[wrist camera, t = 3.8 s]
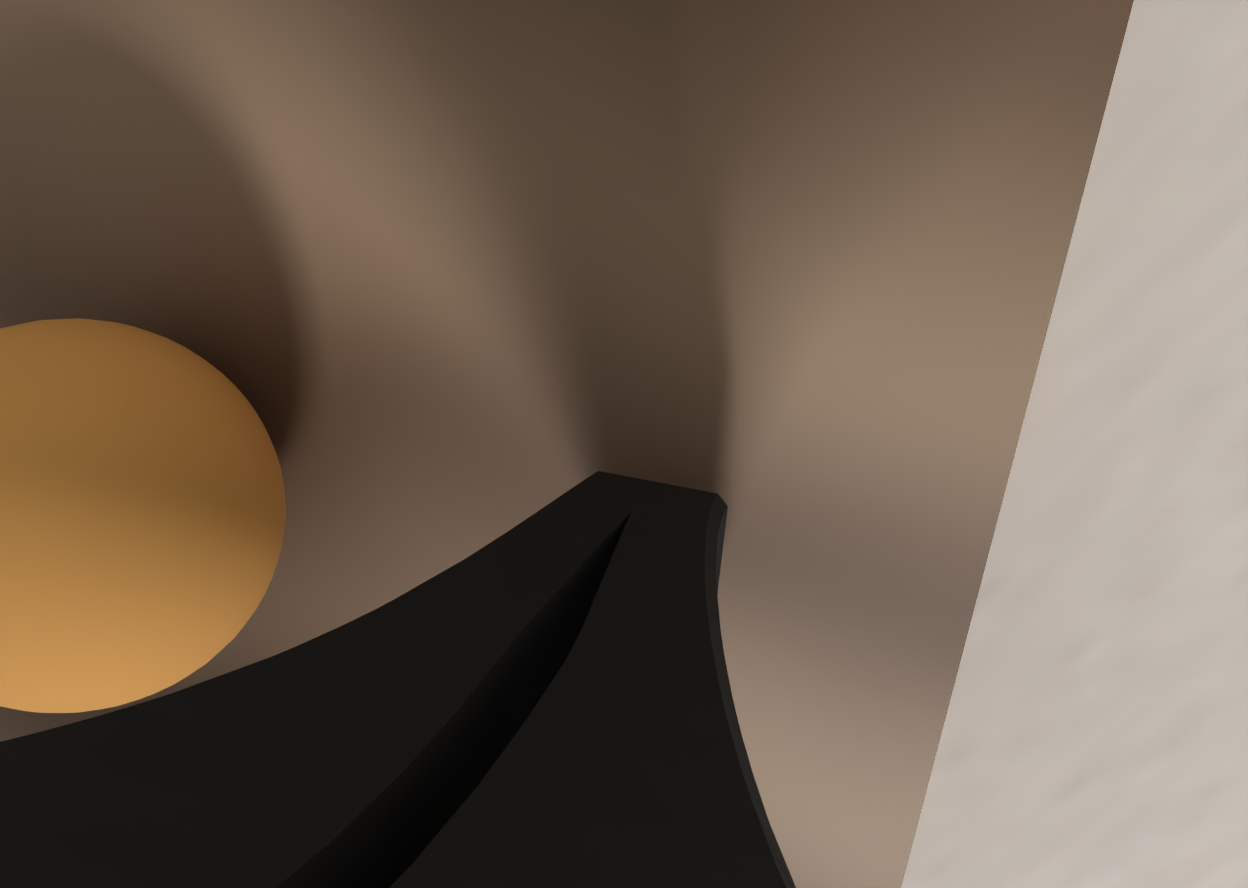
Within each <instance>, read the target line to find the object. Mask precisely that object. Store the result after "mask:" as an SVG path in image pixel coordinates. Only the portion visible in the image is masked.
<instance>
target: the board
mask: <svg viewBox="0 0 1248 888" xmlns="http://www.w3.org/2000/svg"><path fill="white" fill-rule="evenodd" d="M1133 1H1134V0H0V328H5V327H10V326H14V325H19V324H24V323H28V322H33V321H38V320H52V319H73V318H81V319H91V320H100V321H109V322H117V323H121V324H125V325H129V326H134V327H137V328H140V329H143V330H146V331H149V332H152V333H155V334H158V335H160V336H163V337H166V338H168V339H170V340H172V341H174V342H176V343H178V344H180V345H182V346H184V347H186V348H188V349H189V350H191V351H192V352H194V353H195V354H197V355H198V356H200V357H202V358H203V359H205V360H206V361H207V362H209V363H210V364H211V365H213V366H214V367H215V368H216V369H218V370H219V371H220V372H221V373H223V374H224V375H225V376H226V377H227V378H228V379H229V380H230V381H231V382H232V383H233V384H234V385H235V386H236V387H237V388H238V389H239V390H240V392H241V393H242V394H243V395H244V396H245V397H246V398H247V400H248V401H249V403H250V404H251V405H252V407H253V408H254V410H255V411H256V412H257V414H258V416H259V418H260V419H261V421H262V423H263V424H264V426H265V428H266V430H267V433H268V435H269V437H270V439H271V442H272V444H273V446H274V448H275V451H276V454H277V457H278V460H279V463H280V466H281V471H282V477H283V482H284V491H285V505H286V518H285V529H284V537H283V544H282V548H281V552H280V556H279V560H278V563H277V566H276V569H275V572H274V575H273V578H272V580H271V582H270V584H269V586H268V589H267V591H266V593H265V595H264V596H263V598H262V600H261V602H260V604H259V605H258V607H257V609H256V610H255V612H254V613H253V615H252V616H251V617H250V619H249V620H248V621H247V623H246V624H245V625H244V627H243V628H242V629H241V630H240V632H239V633H238V634H237V635H236V637H235V638H234V639H233V640H232V641H231V642H230V643H229V644H227V645H226V646H225V647H224V648H223V649H222V650H221V651H220V652H219V653H218V654H216V655H215V656H214V657H213V658H212V659H211V660H210V661H209V662H208V663H207V664H205V665H204V666H202V667H201V668H199V669H198V670H196V671H195V672H193V673H192V674H190V675H189V676H187V677H186V678H184V679H182V680H181V681H179V682H177V683H176V684H174V685H172V686H170V687H168V688H165V689H163V690H161V691H159V692H157V693H155V694H153V695H150V696H147V697H145V698H142V699H139V700H136V701H133V702H129V703H126V704H123V705H120V706H116V707H111V708H105V709H100V710H93V711H86V712H79V713H38V712H28V711H22V710H17V709H11V708H6V707H1V706H0V742H1V741H5V740H9V739H13V738H17V737H21V736H25V735H30V734H34V733H38V732H41V731H45V730H49V729H52V728H56V727H60V726H63V725H67V724H71V723H74V722H78V721H82V720H85V719H89V718H93V717H96V716H100V715H103V714H107V713H110V712H113V711H116V710H120V709H123V708H126V707H129V706H133V705H136V704H139V703H143V702H146V701H149V700H152V699H156V698H159V697H162V696H165V695H168V694H171V693H174V692H177V691H179V690H182V689H185V688H187V687H190V686H193V685H196V684H198V683H201V682H204V681H206V680H209V679H212V678H215V677H217V676H220V675H223V674H226V673H228V672H231V671H234V670H236V669H239V668H242V667H245V666H247V665H250V664H253V663H255V662H258V661H261V660H264V659H266V658H269V657H272V656H274V655H277V654H279V653H281V652H284V651H286V650H289V649H291V648H293V647H296V646H298V645H300V644H302V643H305V642H307V641H309V640H311V639H313V638H316V637H318V636H320V635H322V634H325V633H327V632H329V631H331V630H333V629H336V628H338V627H340V626H342V625H344V624H347V623H349V622H351V621H353V620H355V619H357V618H359V617H361V616H363V615H365V614H367V613H369V612H371V611H373V610H375V609H377V608H379V607H381V606H383V605H385V604H386V603H388V602H390V601H392V600H394V599H396V598H397V597H399V596H401V595H403V594H404V593H406V592H408V591H410V590H411V589H413V588H415V587H417V586H418V585H420V584H422V583H424V582H425V581H427V580H429V579H431V578H432V577H434V576H436V575H438V574H439V573H441V572H443V571H445V570H446V569H448V568H450V567H452V566H453V565H455V564H457V563H459V562H460V561H462V560H464V559H466V558H467V557H469V556H470V555H472V554H473V553H475V552H476V551H478V550H480V549H481V548H483V547H484V546H486V545H487V544H489V543H490V542H492V541H494V540H495V539H497V538H498V537H500V536H501V535H503V534H504V533H506V532H508V531H509V530H511V529H512V528H514V527H515V526H517V525H518V524H520V523H521V522H523V521H524V520H525V519H527V518H528V517H530V516H531V515H533V514H534V513H536V512H537V511H539V510H540V509H542V508H543V507H545V506H546V505H548V504H549V503H551V502H552V501H554V500H555V499H556V498H558V497H559V496H561V495H562V494H564V493H565V492H567V491H568V490H570V489H571V488H573V487H574V486H576V485H577V484H579V483H580V482H582V481H583V480H585V479H586V478H588V477H590V476H591V475H593V474H594V473H596V472H597V471H602V472H608V473H613V474H618V475H623V476H628V477H634V478H639V479H644V480H649V481H655V482H660V483H665V484H670V485H676V486H681V487H686V488H691V489H697V490H702V491H707V492H712V493H718V494H719V495H720V497H721V498H722V499H723V501H724V502H725V503H726V504H727V506H728V510H727V518H726V527H725V535H724V543H723V552H722V560H721V569H720V577H719V585H718V594H717V597H718V607H719V617H720V628H721V636H722V642H723V649H724V656H725V661H726V666H727V672H728V677H729V682H730V687H731V692H732V697H733V701H734V706H735V710H736V714H737V718H738V722H739V726H740V730H741V734H742V738H743V741H744V744H745V748H746V751H747V755H748V758H749V762H750V765H751V769H752V772H753V775H754V778H755V781H756V784H757V787H758V790H759V793H760V796H761V799H762V802H763V805H764V808H765V811H766V814H767V817H768V820H769V823H770V825H771V828H772V830H773V833H774V835H775V838H776V840H777V842H778V845H779V847H780V850H781V852H782V855H783V857H784V859H785V862H786V864H787V867H788V869H789V872H790V874H791V877H792V879H793V881H794V884H795V886H796V888H901V885H902V881H903V878H904V874H905V870H906V866H907V862H908V859H909V855H910V851H911V847H912V843H913V839H914V836H915V832H916V828H917V824H918V820H919V817H920V813H921V809H922V805H923V801H924V797H925V794H926V790H927V786H928V782H929V778H930V775H931V771H932V767H933V763H934V759H935V756H936V752H937V748H938V744H939V740H940V736H941V733H942V729H943V725H944V721H945V717H946V714H947V710H948V706H949V702H950V698H951V695H952V691H953V687H954V683H955V679H956V675H957V672H958V668H959V664H960V660H961V656H962V653H963V649H964V645H965V641H966V637H967V634H968V630H969V626H970V622H971V618H972V614H973V611H974V607H975V603H976V599H977V595H978V592H979V588H980V584H981V580H982V576H983V573H984V569H985V565H986V561H987V557H988V553H989V550H990V546H991V542H992V538H993V534H994V531H995V527H996V523H997V519H998V515H999V512H1000V508H1001V504H1002V500H1003V496H1004V492H1005V489H1006V485H1007V481H1008V477H1009V473H1010V470H1011V466H1012V462H1013V458H1014V454H1015V450H1016V447H1017V443H1018V439H1019V435H1020V431H1021V428H1022V424H1023V420H1024V416H1025V412H1026V409H1027V405H1028V401H1029V397H1030V393H1031V389H1032V386H1033V382H1034V378H1035V374H1036V370H1037V367H1038V363H1039V359H1040V355H1041V351H1042V348H1043V344H1044V340H1045V336H1046V332H1047V328H1048V325H1049V321H1050V317H1051V313H1052V309H1053V306H1054V302H1055V298H1056V294H1057V290H1058V287H1059V283H1060V279H1061V275H1062V271H1063V267H1064V264H1065V260H1066V256H1067V252H1068V248H1069V245H1070V241H1071V237H1072V233H1073V229H1074V226H1075V222H1076V218H1077V214H1078V210H1079V206H1080V203H1081V199H1082V195H1083V191H1084V187H1085V184H1086V180H1087V176H1088V172H1089V168H1090V165H1091V161H1092V157H1093V153H1094V149H1095V145H1096V142H1097V138H1098V134H1099V130H1100V126H1101V123H1102V119H1103V115H1104V111H1105V107H1106V103H1107V100H1108V96H1109V92H1110V88H1111V84H1112V81H1113V77H1114V73H1115V69H1116V65H1117V62H1118V58H1119V54H1120V50H1121V46H1122V42H1123V39H1124V35H1125V31H1126V27H1127V23H1128V20H1129V16H1130V12H1131V8H1132V4H1133Z"/></svg>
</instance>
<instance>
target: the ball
mask: <svg viewBox="0 0 1248 888" xmlns="http://www.w3.org/2000/svg"><path fill="white" fill-rule="evenodd" d="M285 518H286V505H285V491H284V482H283V477H282V471H281V466H280V463H279V460H278V457H277V454H276V451H275V448H274V446H273V444H272V442H271V439H270V437H269V435H268V433H267V430H266V428H265V426H264V424H263V423H262V421H261V419H260V418H259V416H258V414H257V412H256V411H255V410H254V408H253V407H252V405H251V404H250V403H249V401H248V400H247V398H246V397H245V396H244V395H243V394H242V393H241V392H240V390H239V389H238V388H237V387H236V386H235V385H234V384H233V383H232V382H231V381H230V380H229V379H228V378H227V377H226V376H225V375H224V374H223V373H221V372H220V371H219V370H218V369H216V368H215V367H214V366H213V365H211V364H210V363H209V362H207V361H206V360H205V359H203V358H202V357H200V356H198V355H197V354H195V353H194V352H192V351H191V350H189V349H188V348H186V347H184V346H182V345H180V344H178V343H176V342H174V341H172V340H170V339H168V338H166V337H163V336H160V335H158V334H155V333H152V332H149V331H146V330H143V329H140V328H137V327H134V326H129V325H125V324H121V323H117V322H109V321H100V320H91V319H81V318H73V319H52V320H38V321H33V322H28V323H24V324H19V325H14V326H10V327H5V328H0V706H1V707H6V708H11V709H17V710H22V711H28V712H38V713H79V712H86V711H93V710H100V709H105V708H111V707H116V706H120V705H123V704H126V703H129V702H133V701H136V700H139V699H142V698H145V697H147V696H150V695H153V694H155V693H157V692H159V691H161V690H163V689H165V688H168V687H170V686H172V685H174V684H176V683H177V682H179V681H181V680H182V679H184V678H186V677H187V676H189V675H190V674H192V673H193V672H195V671H196V670H198V669H199V668H201V667H202V666H204V665H205V664H207V663H208V662H209V661H210V660H211V659H212V658H213V657H214V656H215V655H216V654H218V653H219V652H220V651H221V650H222V649H223V648H224V647H225V646H226V645H227V644H229V643H230V642H231V641H232V640H233V639H234V638H235V637H236V635H237V634H238V633H239V632H240V630H241V629H242V628H243V627H244V625H245V624H246V623H247V621H248V620H249V619H250V617H251V616H252V615H253V613H254V612H255V610H256V609H257V607H258V605H259V604H260V602H261V600H262V598H263V596H264V595H265V593H266V591H267V589H268V586H269V584H270V582H271V580H272V578H273V575H274V572H275V569H276V566H277V563H278V560H279V556H280V552H281V548H282V544H283V537H284V529H285Z"/></svg>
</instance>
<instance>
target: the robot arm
mask: <svg viewBox="0 0 1248 888" xmlns="http://www.w3.org/2000/svg"><path fill="white" fill-rule="evenodd" d="M727 510H728V506H727V504H726V503H725V502H724V501H723V499H722V498H721V497H720V495H719V494H718V493H712V492H707V491H702V490H697V489H691V488H686V487H681V486H676V485H670V484H665V483H660V482H655V481H649V480H644V479H639V478H634V477H628V476H623V475H618V474H613V473H608V472H602V471H597V472H596V473H594V474H593V475H591V476H590V477H588V478H586V479H585V480H583V481H582V482H580V483H579V484H577V485H576V486H574V487H573V488H571V489H570V490H568V491H567V492H565V493H564V494H562V495H561V496H559V497H558V498H556V499H555V500H554V501H552V502H551V503H549V504H548V505H546V506H545V507H543V508H542V509H540V510H539V511H537V512H536V513H534V514H533V515H531V516H530V517H528V518H527V519H525V520H524V521H523V522H521V523H520V524H518V525H517V526H515V527H514V528H512V529H511V530H509V531H508V532H506V533H504V534H503V535H501V536H500V537H498V538H497V539H495V540H494V541H492V542H490V543H489V544H487V545H486V546H484V547H483V548H481V549H480V550H478V551H476V552H475V553H473V554H472V555H470V556H469V557H467V558H466V559H464V560H462V561H460V562H459V563H457V564H455V565H453V566H452V567H450V568H448V569H446V570H445V571H443V572H441V573H439V574H438V575H436V576H434V577H432V578H431V579H429V580H427V581H425V582H424V583H422V584H420V585H418V586H417V587H415V588H413V589H411V590H410V591H408V592H406V593H404V594H403V595H401V596H399V597H397V598H396V599H394V600H392V601H390V602H388V603H386V604H385V605H383V606H381V607H379V608H377V609H375V610H373V611H371V612H369V613H367V614H365V615H363V616H361V617H359V618H357V619H355V620H353V621H351V622H349V623H347V624H344V625H342V626H340V627H338V628H336V629H333V630H331V631H329V632H327V633H325V634H322V635H320V636H318V637H316V638H313V639H311V640H309V641H307V642H305V643H302V644H300V645H298V646H296V647H293V648H291V649H289V650H286V651H284V652H281V653H279V654H277V655H274V656H272V657H269V658H266V659H264V660H261V661H258V662H255V663H253V664H250V665H247V666H245V667H242V668H239V669H236V670H234V671H231V672H228V673H226V674H223V675H220V676H217V677H215V678H212V679H209V680H206V681H204V682H201V683H198V684H196V685H193V686H190V687H187V688H185V689H182V690H179V691H177V692H174V693H171V694H168V695H165V696H162V697H159V698H156V699H152V700H149V701H146V702H143V703H139V704H136V705H133V706H129V707H126V708H123V709H120V710H116V711H113V712H110V713H107V714H103V715H100V716H96V717H93V718H89V719H85V720H82V721H78V722H74V723H71V724H67V725H63V726H60V727H56V728H52V729H49V730H45V731H41V732H38V733H34V734H30V735H25V736H21V737H17V738H13V739H9V740H5V741H1V742H0V888H796V886H795V884H794V881H793V879H792V877H791V874H790V872H789V869H788V867H787V864H786V862H785V859H784V857H783V855H782V852H781V850H780V847H779V845H778V842H777V840H776V838H775V835H774V833H773V830H772V828H771V825H770V823H769V820H768V817H767V814H766V811H765V808H764V805H763V802H762V799H761V796H760V793H759V790H758V787H757V784H756V781H755V778H754V775H753V772H752V769H751V765H750V762H749V758H748V755H747V751H746V748H745V744H744V741H743V738H742V734H741V730H740V726H739V722H738V718H737V714H736V710H735V706H734V701H733V697H732V692H731V687H730V682H729V677H728V672H727V666H726V661H725V656H724V649H723V642H722V636H721V628H720V617H719V607H718V597H717V594H718V585H719V577H720V569H721V560H722V552H723V543H724V535H725V527H726V518H727Z"/></svg>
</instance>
